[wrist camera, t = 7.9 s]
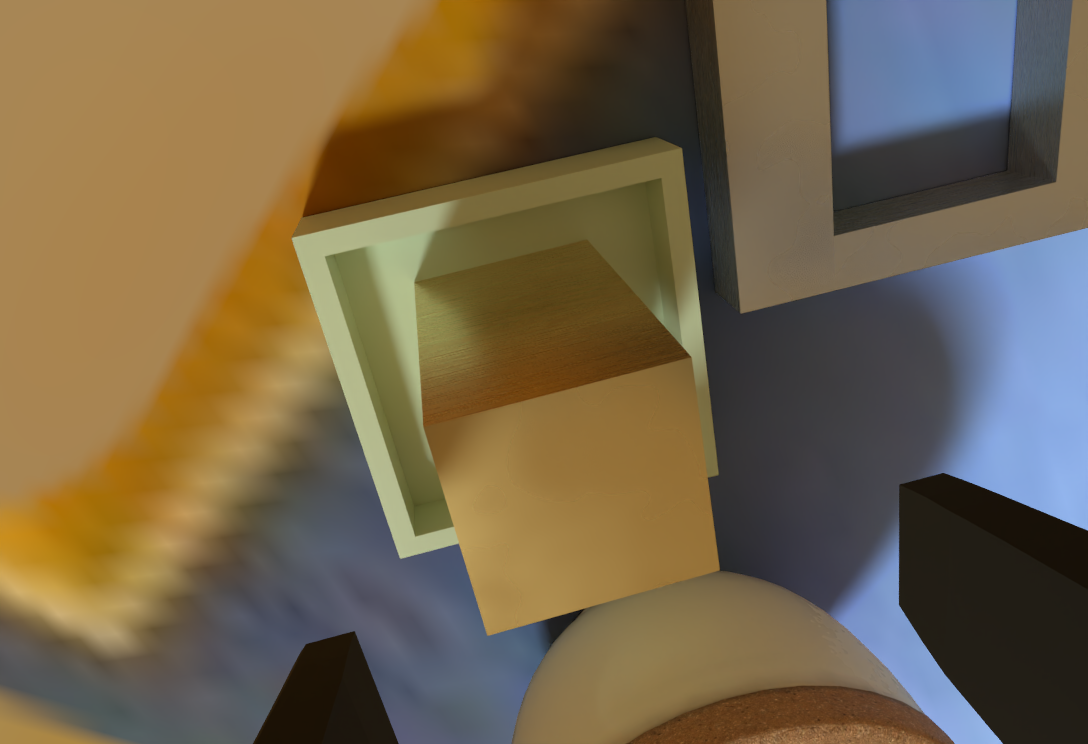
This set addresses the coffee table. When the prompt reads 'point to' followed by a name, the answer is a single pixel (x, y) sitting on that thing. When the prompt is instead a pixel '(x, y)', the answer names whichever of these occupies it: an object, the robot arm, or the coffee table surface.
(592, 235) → the parts tray
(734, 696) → the lidded jar
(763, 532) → the coffee table surface
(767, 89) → the grey rectangular frame
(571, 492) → the upright wooden block
